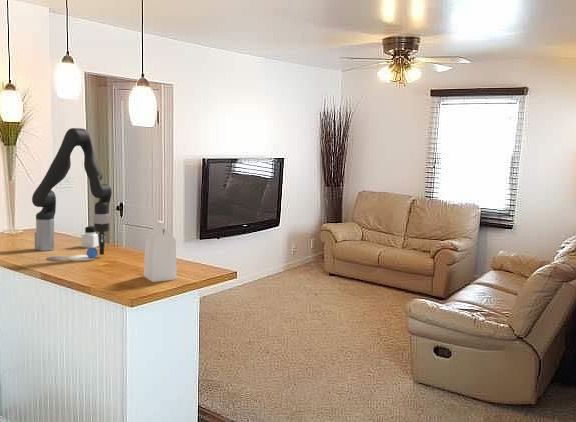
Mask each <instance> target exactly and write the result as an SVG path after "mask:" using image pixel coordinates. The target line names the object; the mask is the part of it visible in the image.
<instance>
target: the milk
mask: <svg viewBox="0 0 576 422" xmlns="http://www.w3.org/2000/svg"><path fill="white" fill-rule="evenodd" d="M144 245H145V246H144V248H145V249H144V259H143V260H144V262H143V277H144V278H146V280H149V281H151V282H152V283H154V282H155V283H156V282H165V281H175V279H176V280H178V275H177V274H178V268H177V242H176V238H175V236H173V235H172V234H171V233H170V232H169V230H167V228H166V225H165V222H164V221H162V220H157V221H156V225H155V227H154V228H153V229H152V230H151V231H150V232H148V233H147V234H146V236H145V244H144Z"/></svg>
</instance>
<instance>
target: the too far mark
mask: <svg viewBox="0 0 576 422" xmlns="http://www.w3.org/2000/svg"><path fill="white" fill-rule="evenodd" d="M67 258H68V257H67V256H63V255H61V256H60V255H59V256H57V255H56V256H50V257H49V256H48V257H46V260H47V261H50V262H51V261H55V262H56V261H57V262H59V261H65V260H68V259H67Z"/></svg>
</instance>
